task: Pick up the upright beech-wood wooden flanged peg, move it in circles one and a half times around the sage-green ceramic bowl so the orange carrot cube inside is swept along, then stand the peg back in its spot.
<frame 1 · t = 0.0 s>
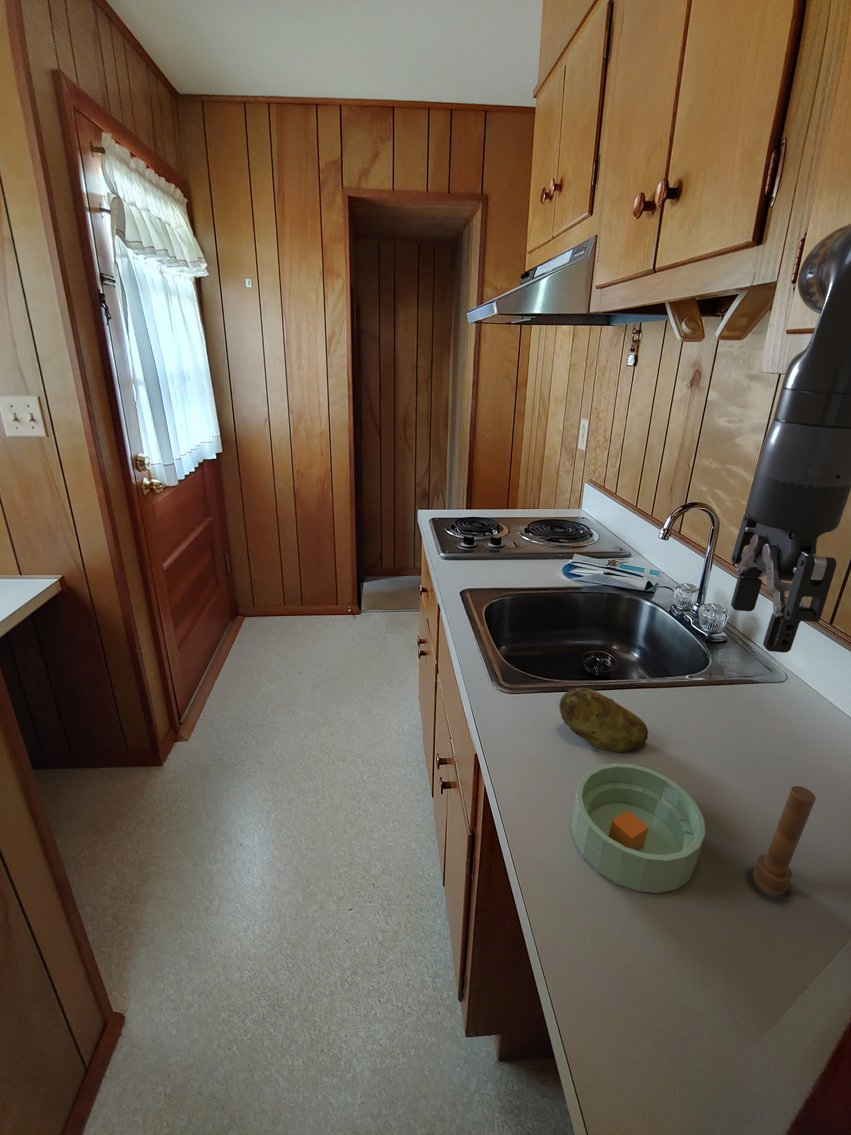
hand: (757, 628, 56), 30 cm above the worktop, tool pointing down, fingers open, 8 cm apart
bowl: (630, 842, 68), on the worktop
carrot cube: (626, 841, 67), point 1 cm above the worktop, touching bowl
wooden flanged peg: (767, 885, 63), on the worktop
potato: (598, 741, 85), on the worktop
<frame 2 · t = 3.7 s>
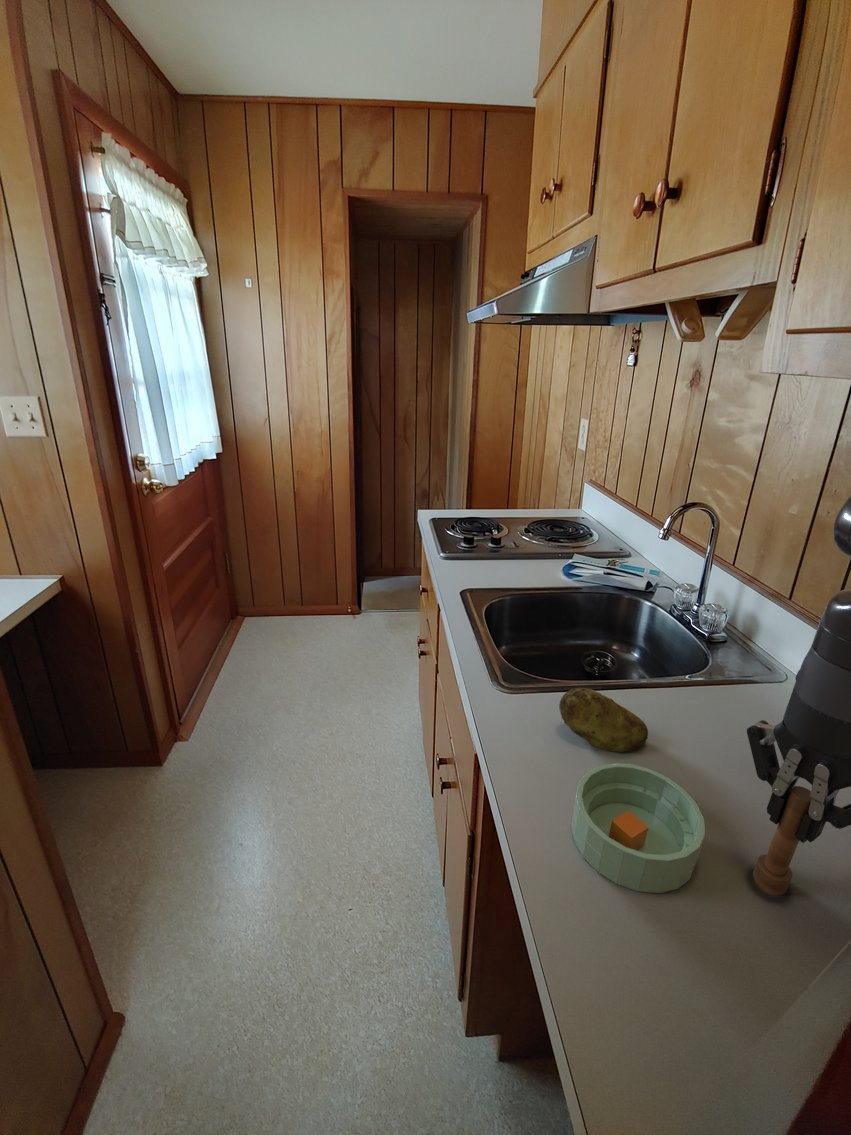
hand: (790, 827, 60), 9 cm above the worktop, tool pointing down, fingers closed on wooden flanged peg, 2 cm apart
wooden flanged peg: (767, 885, 63), on the worktop, touching gripper
everything else where it was.
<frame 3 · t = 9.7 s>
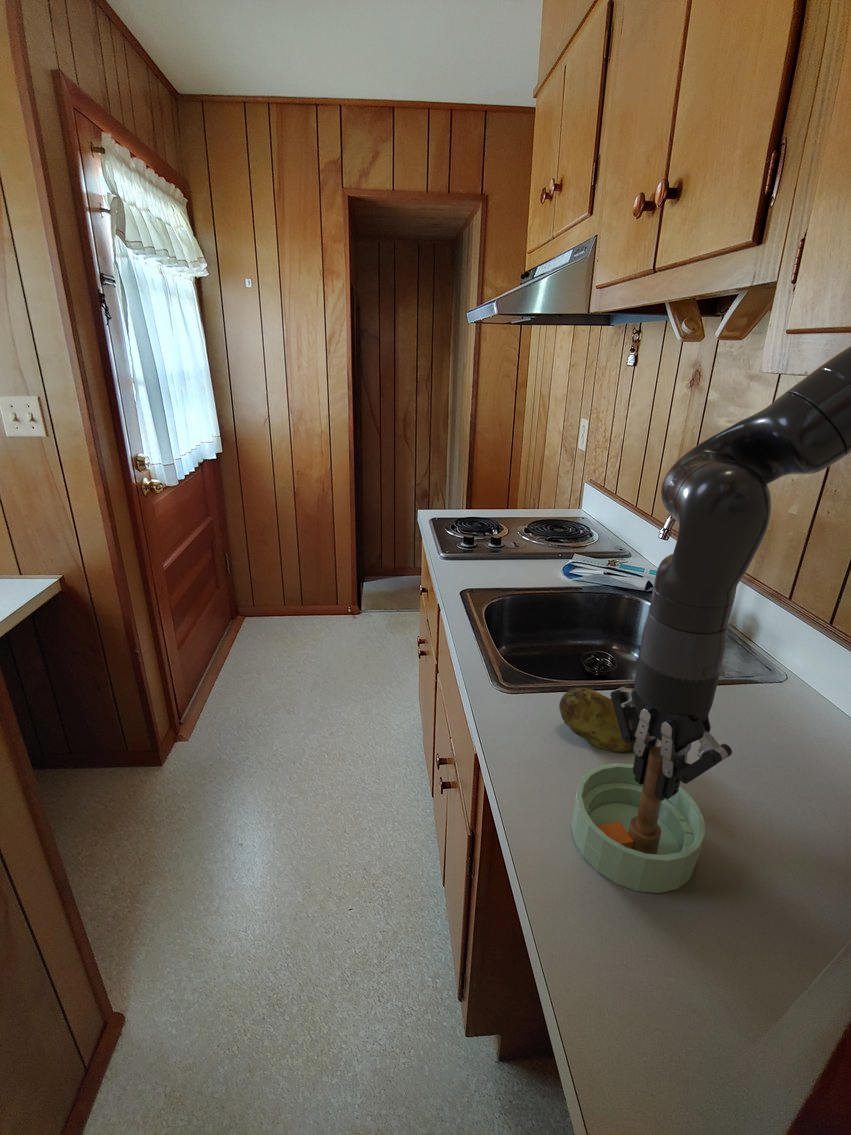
hand: (653, 787, 62), 11 cm above the worktop, tool pointing down, fingers closed on wooden flanged peg, 2 cm apart
carrot cube: (611, 851, 66), point 1 cm above the worktop, touching bowl, wooden flanged peg
wooden flanged peg: (642, 845, 65), point 2 cm above the worktop, touching carrot cube, gripper
everything else where it was.
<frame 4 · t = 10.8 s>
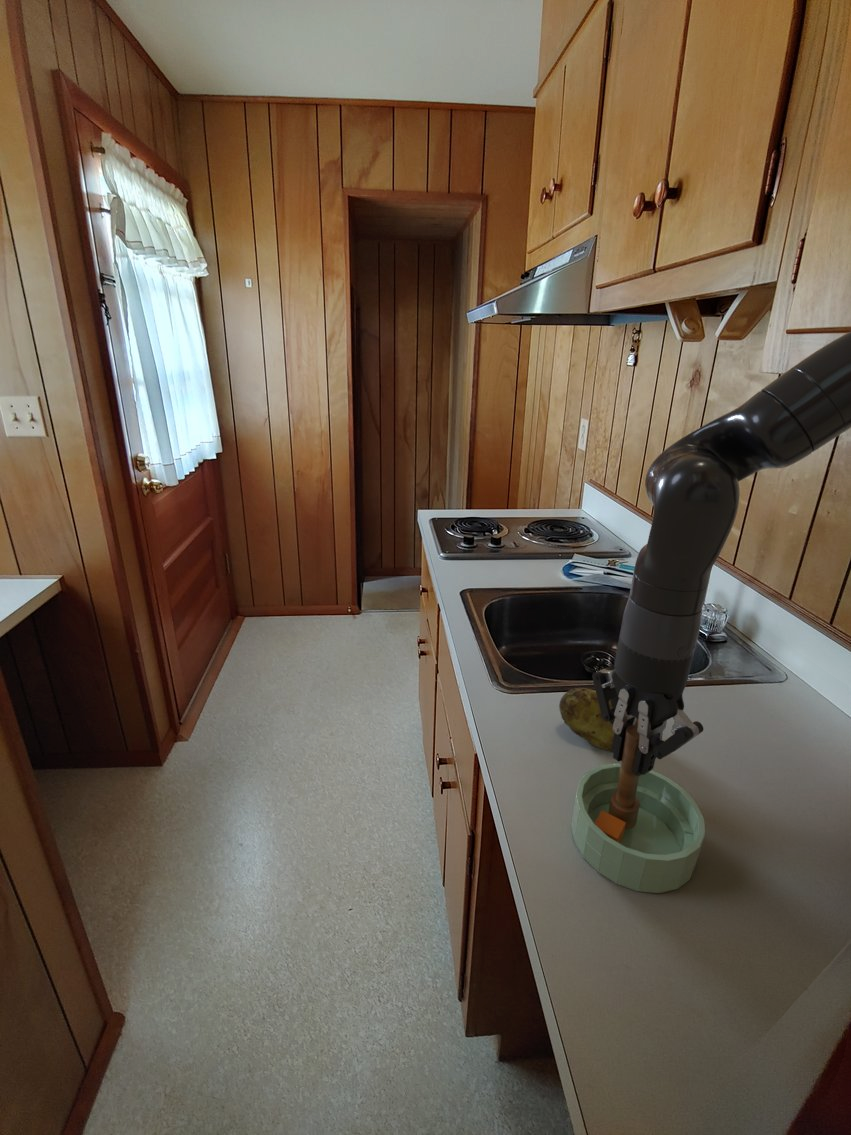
hand: (630, 764, 65), 11 cm above the worktop, tool pointing down, fingers closed on wooden flanged peg, 2 cm apart
carrot cube: (605, 842, 67), point 1 cm above the worktop, touching bowl
wooden flanged peg: (622, 817, 69), point 2 cm above the worktop, touching gripper
everything else where it was.
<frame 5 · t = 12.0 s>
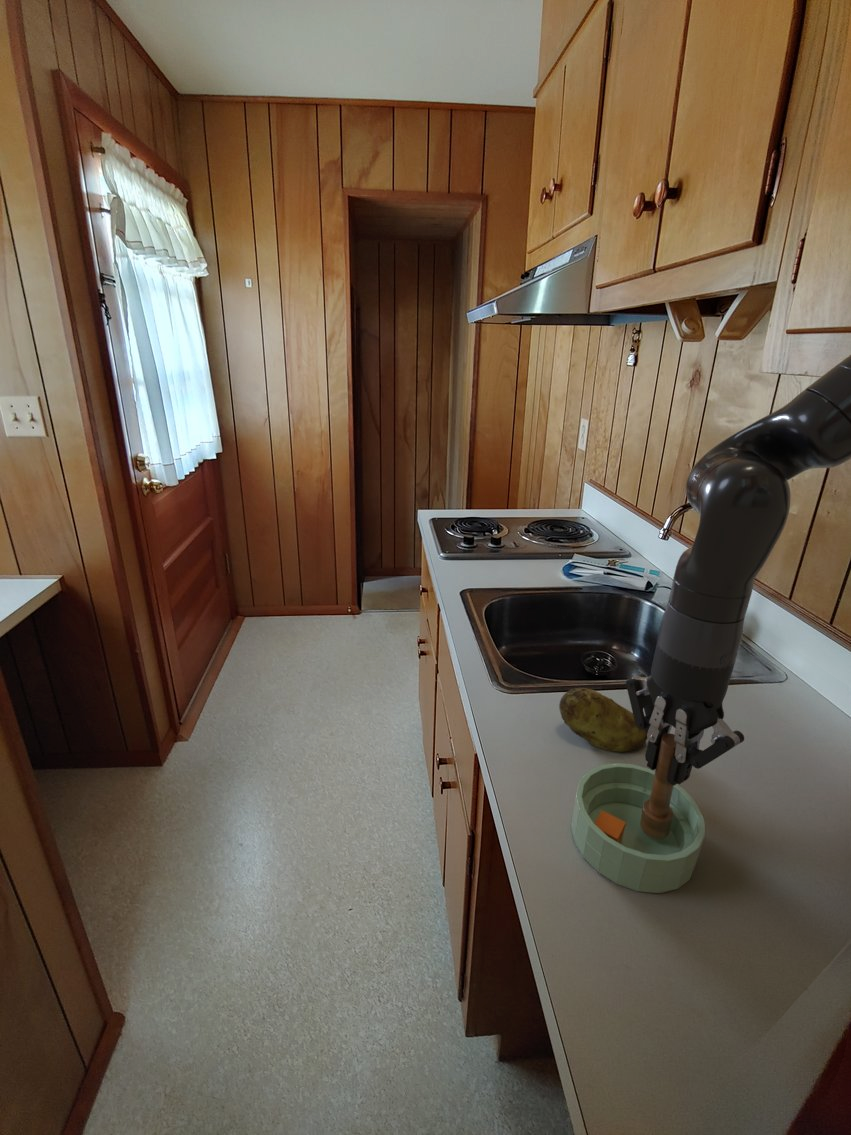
hand: (664, 773, 64), 11 cm above the worktop, tool pointing down, fingers closed on wooden flanged peg, 2 cm apart
wooden flanged peg: (654, 827, 68), point 2 cm above the worktop, touching gripper
everything else where it was.
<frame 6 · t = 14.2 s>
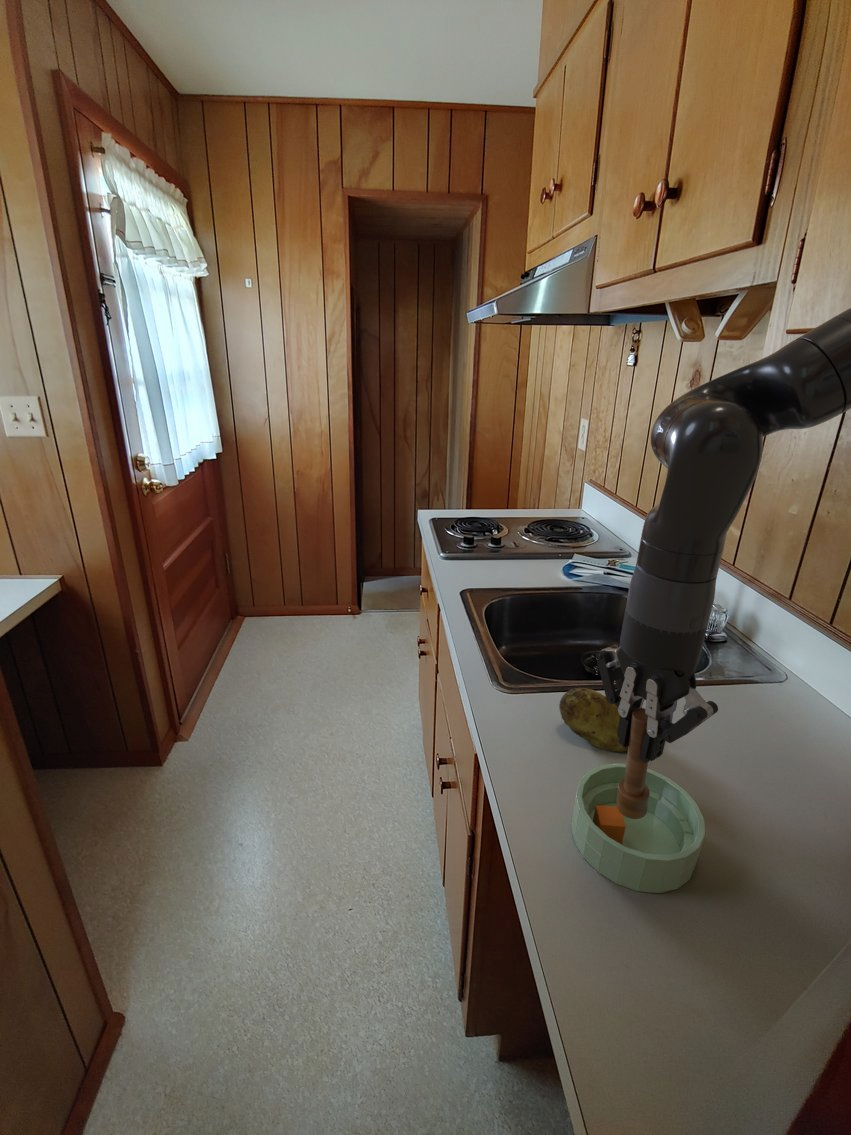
hand: (637, 750, 60), 16 cm above the worktop, tool pointing down, fingers closed on wooden flanged peg
carrot cube: (606, 833, 68), point 1 cm above the worktop, touching bowl
wooden flanged peg: (631, 806, 64), point 7 cm above the worktop, tilted 7°, touching gripper
everything else where it was.
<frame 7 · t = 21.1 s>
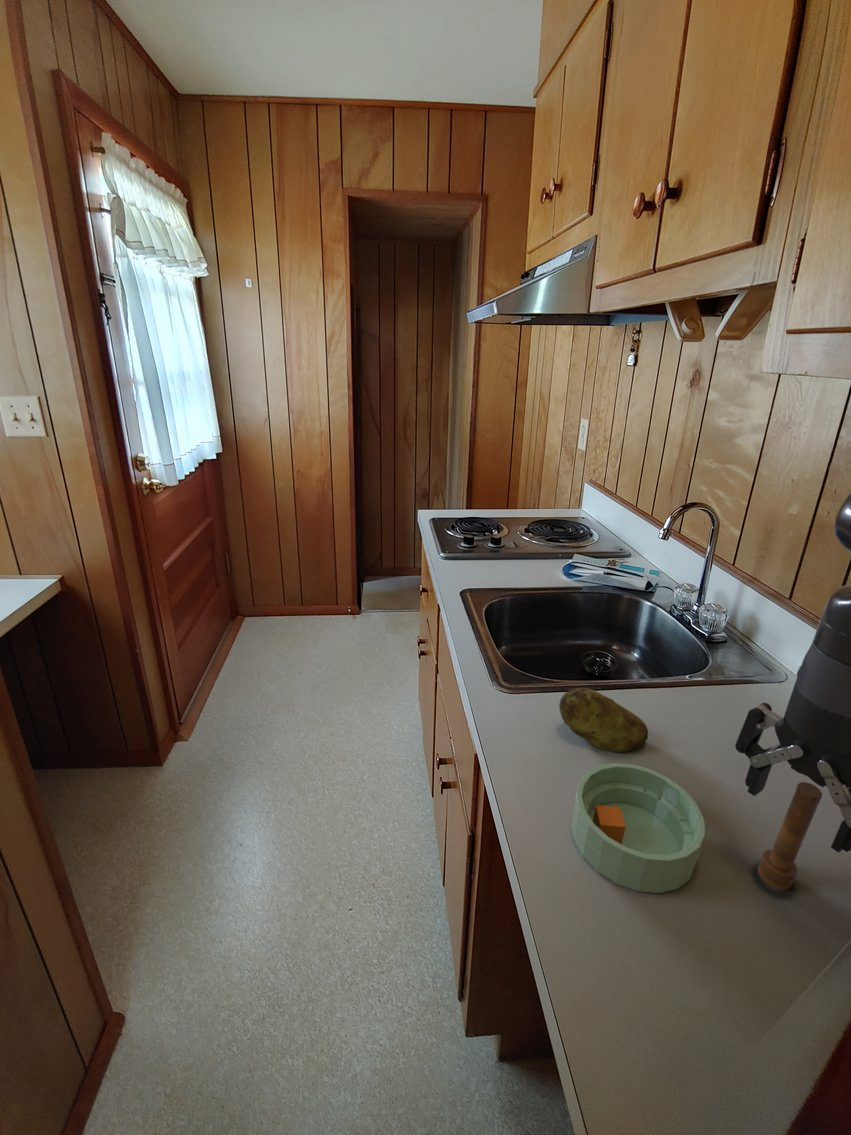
hand: (794, 817, 59), 11 cm above the worktop, tool pointing down, fingers open, 8 cm apart
wooden flanged peg: (772, 880, 64), on the worktop
everything else where it was.
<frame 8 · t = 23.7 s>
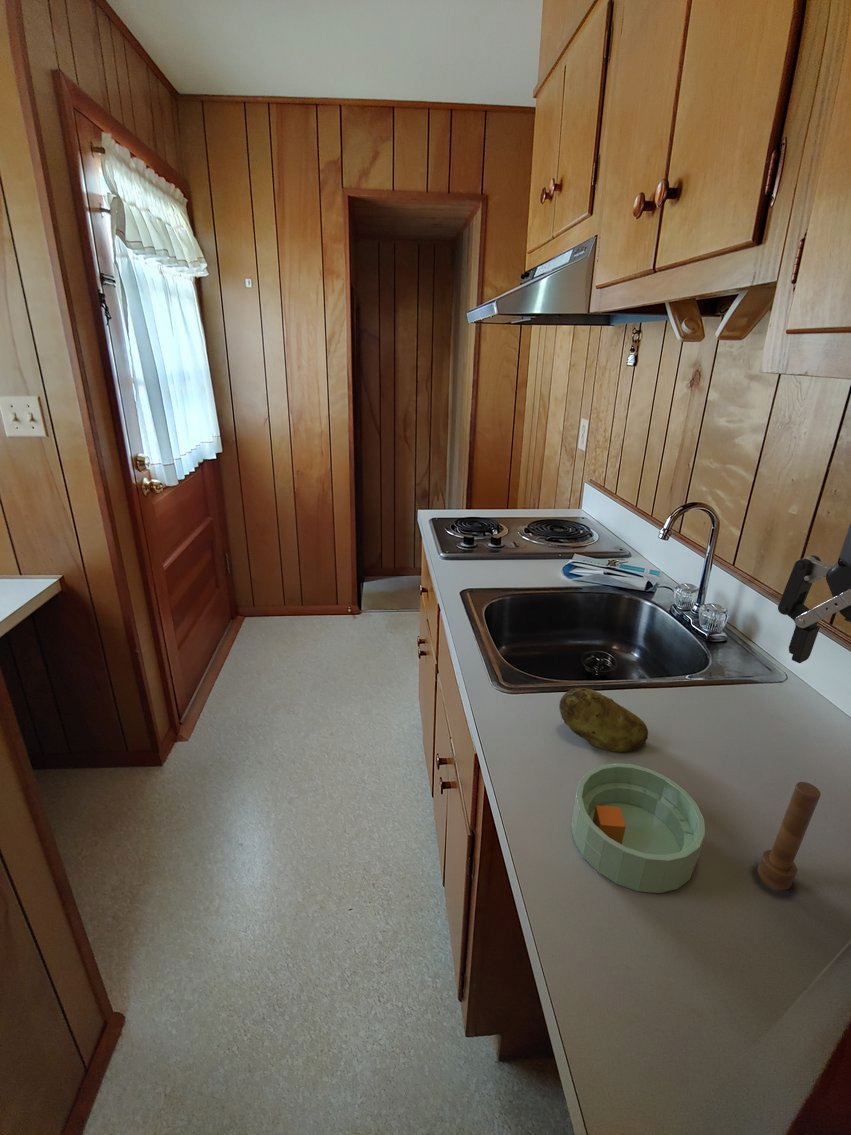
hand: (847, 681, 52), 28 cm above the worktop, tool pointing down, fingers open, 8 cm apart
nothing on the worktop moved.
at the end: carrot cube moved 2.3 cm from its start; carrot cube inside the target area in the bowl (3.0 cm from its centre), point 0.8 cm above the bowl's base; wooden flanged peg tilted 0° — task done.
